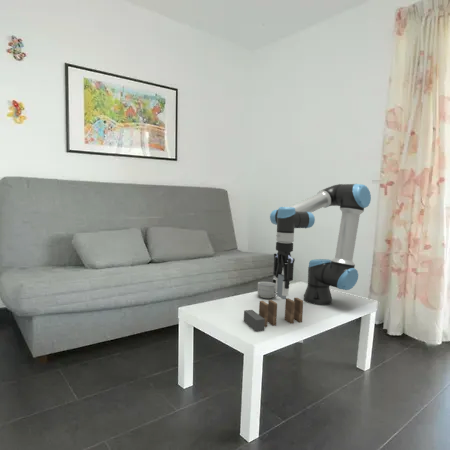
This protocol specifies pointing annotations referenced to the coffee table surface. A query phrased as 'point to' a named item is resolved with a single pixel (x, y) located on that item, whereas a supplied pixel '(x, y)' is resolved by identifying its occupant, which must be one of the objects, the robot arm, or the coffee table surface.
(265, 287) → the teacup
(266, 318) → the domino
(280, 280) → the domino
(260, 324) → the block
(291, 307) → the domino
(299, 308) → the domino
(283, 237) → the robot arm
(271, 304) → the domino
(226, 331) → the coffee table surface
